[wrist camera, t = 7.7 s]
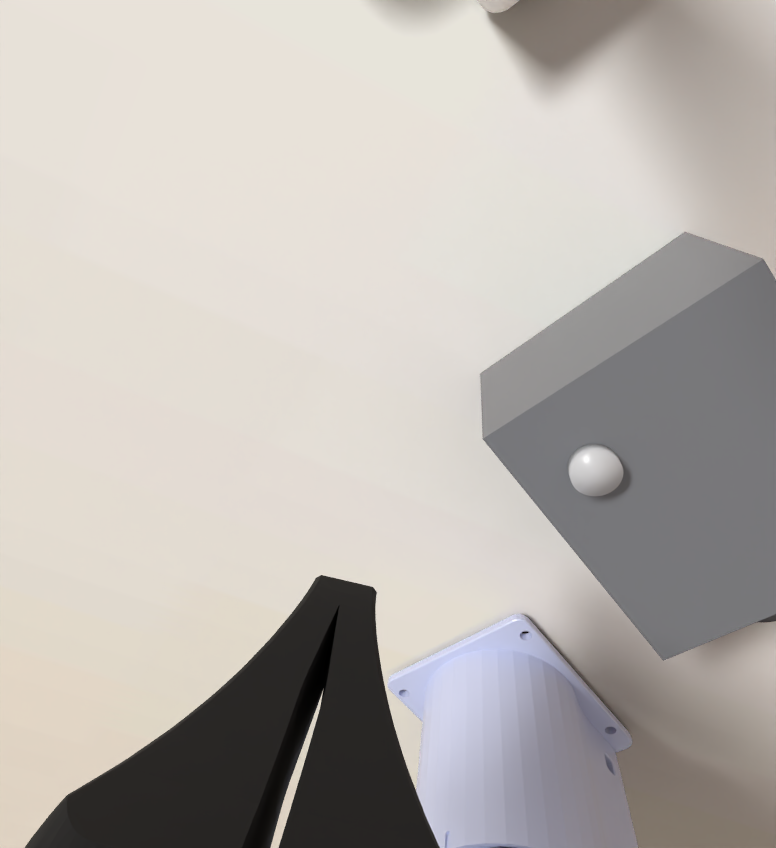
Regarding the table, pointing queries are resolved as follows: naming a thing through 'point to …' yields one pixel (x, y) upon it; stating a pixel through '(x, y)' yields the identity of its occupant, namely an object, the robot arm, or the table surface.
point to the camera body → (656, 438)
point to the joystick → (497, 5)
